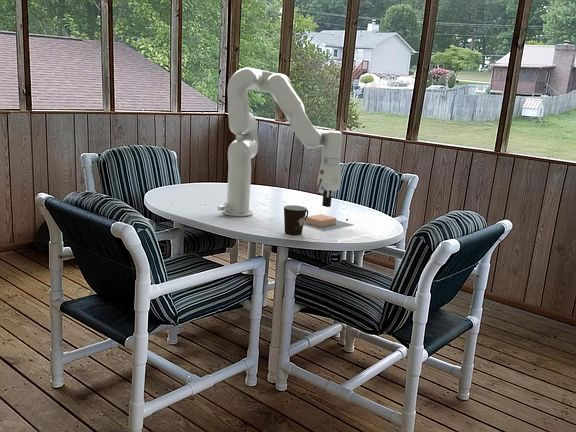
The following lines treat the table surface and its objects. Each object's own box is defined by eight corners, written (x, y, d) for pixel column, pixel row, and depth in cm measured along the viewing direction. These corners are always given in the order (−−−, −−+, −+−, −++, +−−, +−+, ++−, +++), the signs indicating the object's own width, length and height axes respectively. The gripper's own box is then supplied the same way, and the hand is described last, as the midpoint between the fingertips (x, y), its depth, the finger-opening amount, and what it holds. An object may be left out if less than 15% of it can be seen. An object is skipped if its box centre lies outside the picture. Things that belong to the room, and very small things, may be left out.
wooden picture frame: (335, 224, 228) (320, 227, 221) (320, 220, 234) (305, 222, 226) (336, 218, 228) (320, 221, 221) (321, 214, 233) (305, 216, 226)
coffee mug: (287, 236, 205) (289, 210, 203) (278, 230, 213) (280, 205, 211) (315, 235, 210) (317, 209, 208) (305, 229, 218) (307, 204, 215)
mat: (323, 232, 215) (323, 231, 215) (289, 222, 227) (289, 221, 227) (354, 226, 230) (354, 224, 230) (321, 217, 242) (321, 215, 242)
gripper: (326, 163, 216) (321, 210, 220) (349, 162, 227) (344, 206, 231) (311, 161, 221) (307, 206, 225) (334, 159, 232) (330, 202, 236)
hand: (326, 206), depth 228 cm, fingers closed
